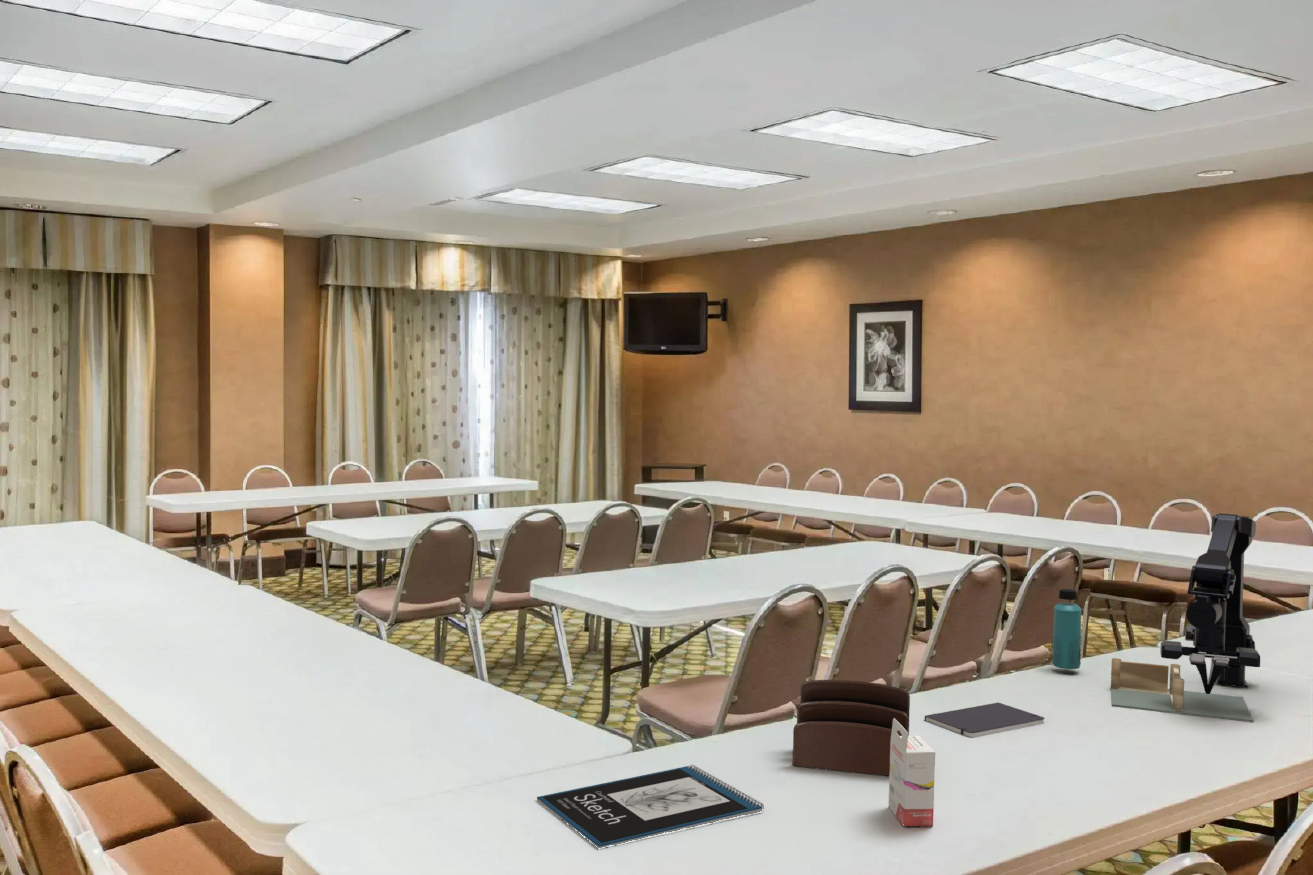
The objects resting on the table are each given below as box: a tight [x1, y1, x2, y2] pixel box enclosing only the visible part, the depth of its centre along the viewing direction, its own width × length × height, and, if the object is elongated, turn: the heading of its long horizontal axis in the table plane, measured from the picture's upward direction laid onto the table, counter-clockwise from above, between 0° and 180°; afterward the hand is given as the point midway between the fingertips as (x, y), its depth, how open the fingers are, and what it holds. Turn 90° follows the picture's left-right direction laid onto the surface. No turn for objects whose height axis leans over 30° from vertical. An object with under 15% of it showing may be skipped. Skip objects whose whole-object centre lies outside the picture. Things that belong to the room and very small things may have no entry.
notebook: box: [924, 702, 1045, 738], centre depth 225 cm, size 13×2×21 cm
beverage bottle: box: [1051, 588, 1082, 670], centre depth 265 cm, size 6×7×20 cm
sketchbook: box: [536, 764, 765, 848], centre depth 177 cm, size 22×30×2 cm
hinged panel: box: [1172, 668, 1185, 710], centre depth 239 cm, size 13×2×6 cm, turn 158°
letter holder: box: [792, 679, 911, 777], centre depth 198 cm, size 10×20×14 cm, turn 75°
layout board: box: [1110, 687, 1255, 723], centre depth 241 cm, size 19×27×1 cm
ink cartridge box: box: [888, 718, 936, 828], centre depth 174 cm, size 9×5×15 cm, turn 5°
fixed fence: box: [1110, 657, 1181, 695], centre depth 248 cm, size 2×14×7 cm, turn 68°
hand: (1207, 693), depth 236 cm, fingers closed
